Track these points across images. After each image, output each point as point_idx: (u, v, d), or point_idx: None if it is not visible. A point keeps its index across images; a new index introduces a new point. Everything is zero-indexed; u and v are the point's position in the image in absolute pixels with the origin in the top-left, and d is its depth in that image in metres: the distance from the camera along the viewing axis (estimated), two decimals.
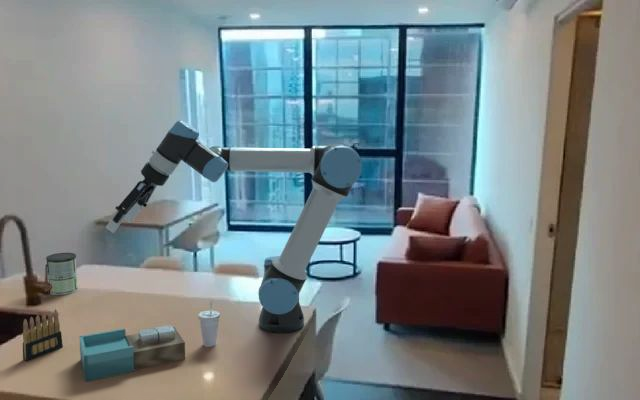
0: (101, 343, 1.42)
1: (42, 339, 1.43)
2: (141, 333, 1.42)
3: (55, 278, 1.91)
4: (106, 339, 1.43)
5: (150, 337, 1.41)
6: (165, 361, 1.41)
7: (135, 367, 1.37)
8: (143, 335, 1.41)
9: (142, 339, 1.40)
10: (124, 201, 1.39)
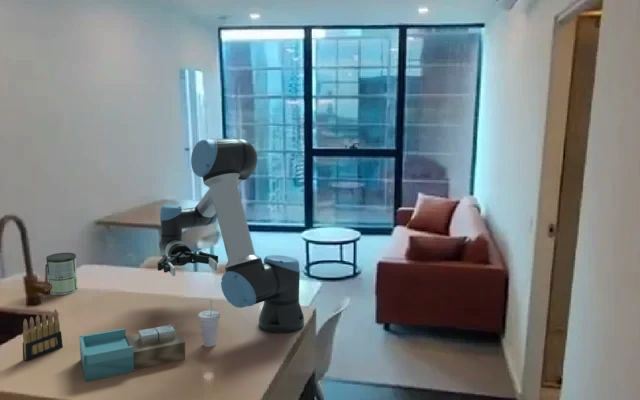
0: (101, 343, 1.42)
1: (42, 339, 1.43)
2: (141, 333, 1.42)
3: (55, 278, 1.91)
4: (106, 339, 1.43)
5: (150, 337, 1.41)
6: (165, 361, 1.41)
7: (135, 367, 1.37)
8: (143, 335, 1.41)
9: (142, 339, 1.40)
10: None
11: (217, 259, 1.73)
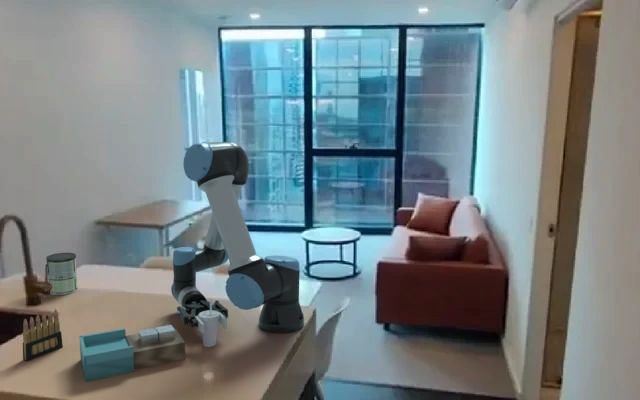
0: (101, 343, 1.42)
1: (42, 339, 1.43)
2: (141, 333, 1.42)
3: (55, 278, 1.91)
4: (106, 339, 1.43)
5: (150, 337, 1.41)
6: (165, 361, 1.41)
7: (135, 367, 1.37)
8: (143, 335, 1.41)
9: (142, 339, 1.40)
10: (182, 320, 1.53)
11: (226, 313, 1.57)
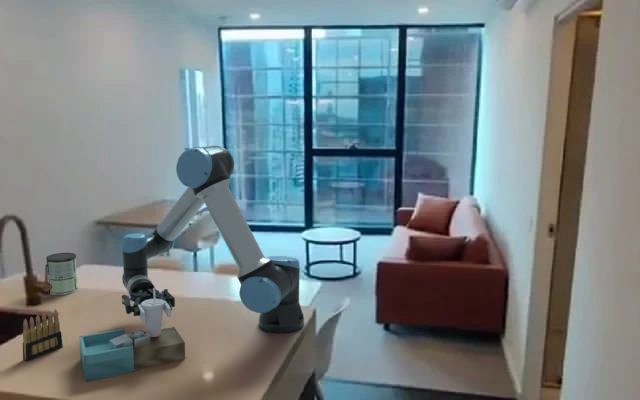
0: (101, 343, 1.42)
1: (42, 339, 1.43)
2: (114, 342, 1.37)
3: (55, 278, 1.91)
4: (106, 339, 1.43)
5: (124, 344, 1.37)
6: (165, 361, 1.41)
7: (135, 367, 1.37)
8: (117, 344, 1.36)
9: (117, 348, 1.36)
10: None
11: (173, 302, 1.49)
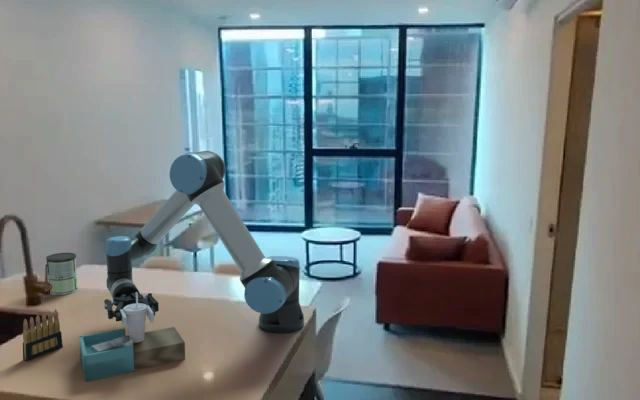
0: None
1: (42, 339, 1.43)
2: (96, 348, 1.33)
3: (55, 278, 1.91)
4: (106, 339, 1.43)
5: None
6: (165, 361, 1.41)
7: (135, 367, 1.37)
8: (100, 350, 1.32)
9: None
10: None
11: (156, 307, 1.45)
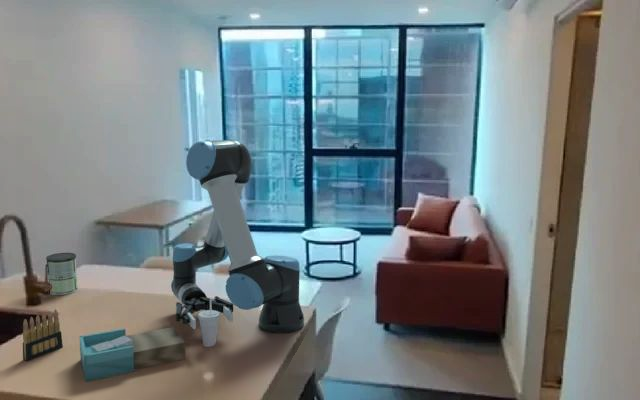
0: None
1: (42, 339, 1.43)
2: (96, 348, 1.33)
3: (55, 278, 1.91)
4: (106, 339, 1.43)
5: None
6: (165, 361, 1.41)
7: (135, 367, 1.37)
8: (100, 350, 1.32)
9: None
10: None
11: (232, 307, 1.58)
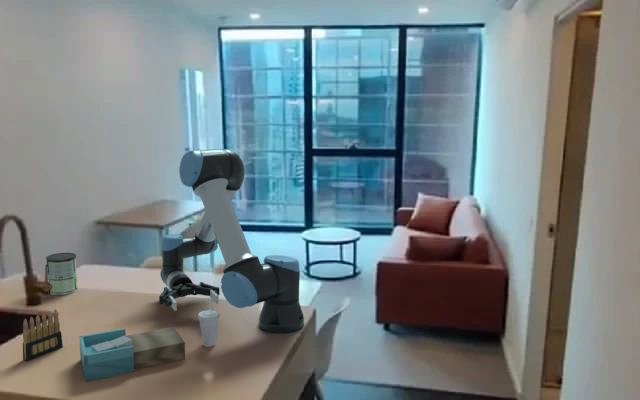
0: None
1: (42, 339, 1.43)
2: (96, 348, 1.33)
3: (55, 278, 1.91)
4: (106, 339, 1.43)
5: None
6: (165, 361, 1.41)
7: (135, 367, 1.37)
8: (100, 350, 1.32)
9: None
10: None
11: (218, 291, 1.73)
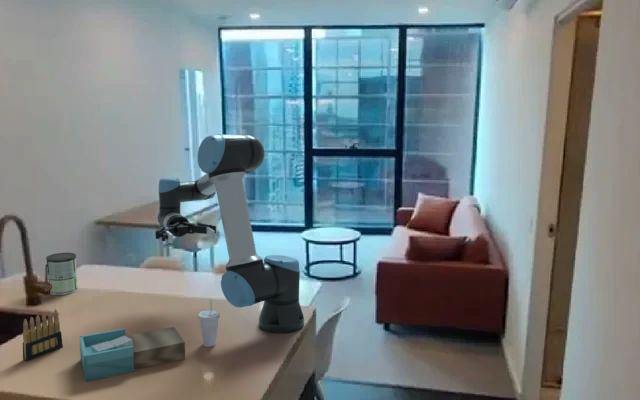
0: None
1: (42, 339, 1.43)
2: (96, 348, 1.33)
3: (55, 278, 1.91)
4: (106, 339, 1.43)
5: None
6: (165, 361, 1.41)
7: (135, 367, 1.37)
8: (100, 350, 1.32)
9: None
10: None
11: (215, 229, 1.73)
